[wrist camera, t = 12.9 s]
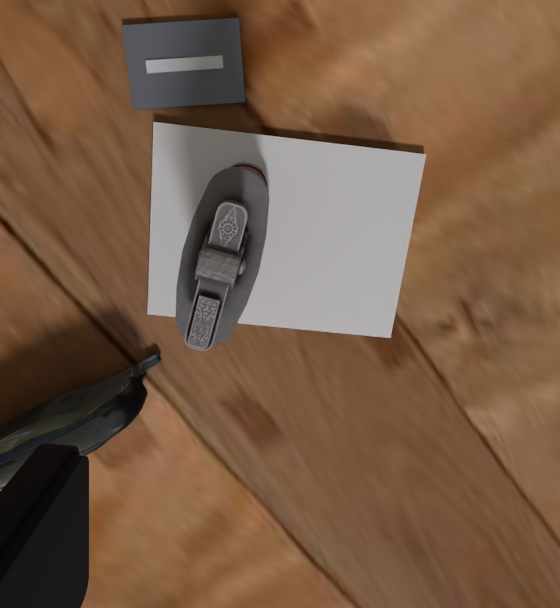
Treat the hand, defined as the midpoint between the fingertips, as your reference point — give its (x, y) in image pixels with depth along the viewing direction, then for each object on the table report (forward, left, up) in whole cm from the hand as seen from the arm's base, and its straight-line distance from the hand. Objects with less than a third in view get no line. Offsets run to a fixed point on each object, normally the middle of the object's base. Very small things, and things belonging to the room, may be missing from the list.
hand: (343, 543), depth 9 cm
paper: (+1, -2, -22) cm, 22 cm away
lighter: (+4, -2, -22) cm, 22 cm away
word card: (+7, -10, -22) cm, 25 cm away
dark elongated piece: (+13, +11, -22) cm, 28 cm away
